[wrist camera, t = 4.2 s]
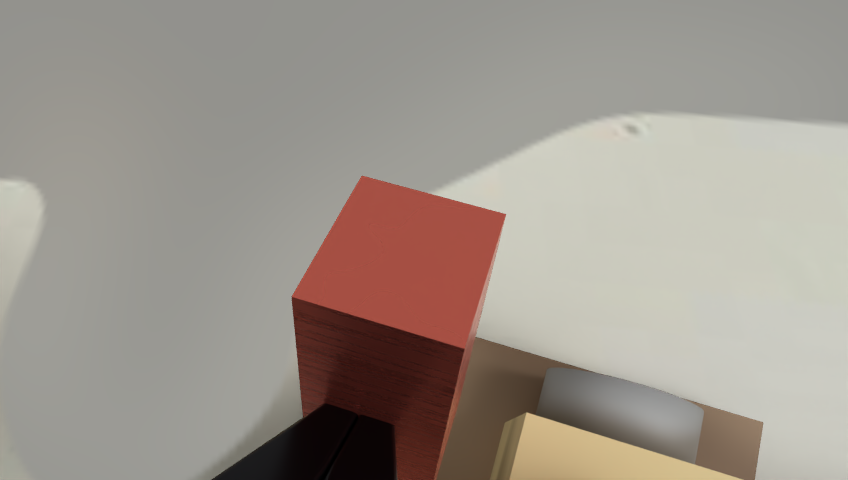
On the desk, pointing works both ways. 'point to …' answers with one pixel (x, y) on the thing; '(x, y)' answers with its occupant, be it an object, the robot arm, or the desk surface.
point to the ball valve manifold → (586, 426)
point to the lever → (396, 314)
